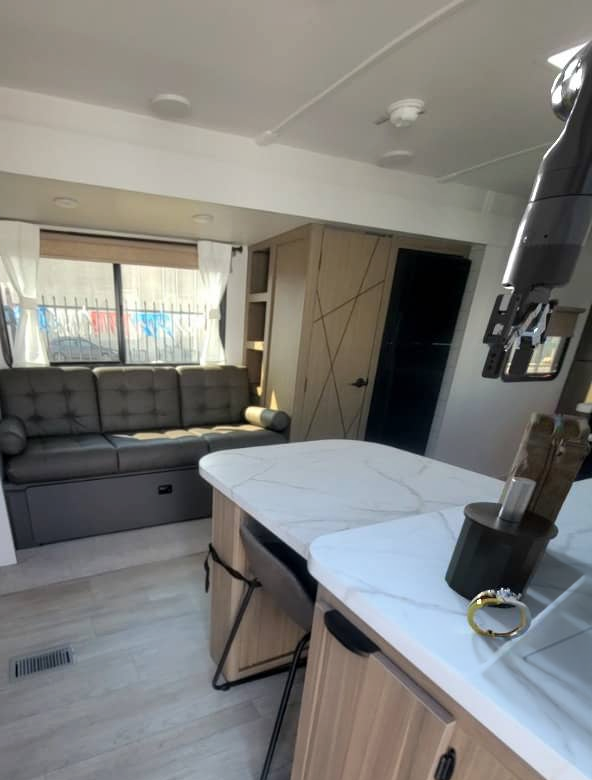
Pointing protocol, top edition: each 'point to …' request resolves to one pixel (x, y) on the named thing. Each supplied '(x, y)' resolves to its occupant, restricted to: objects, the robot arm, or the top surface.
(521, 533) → the lid
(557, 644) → the top surface
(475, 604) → the ring
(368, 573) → the top surface
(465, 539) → the tin
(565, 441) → the weathered brown block
